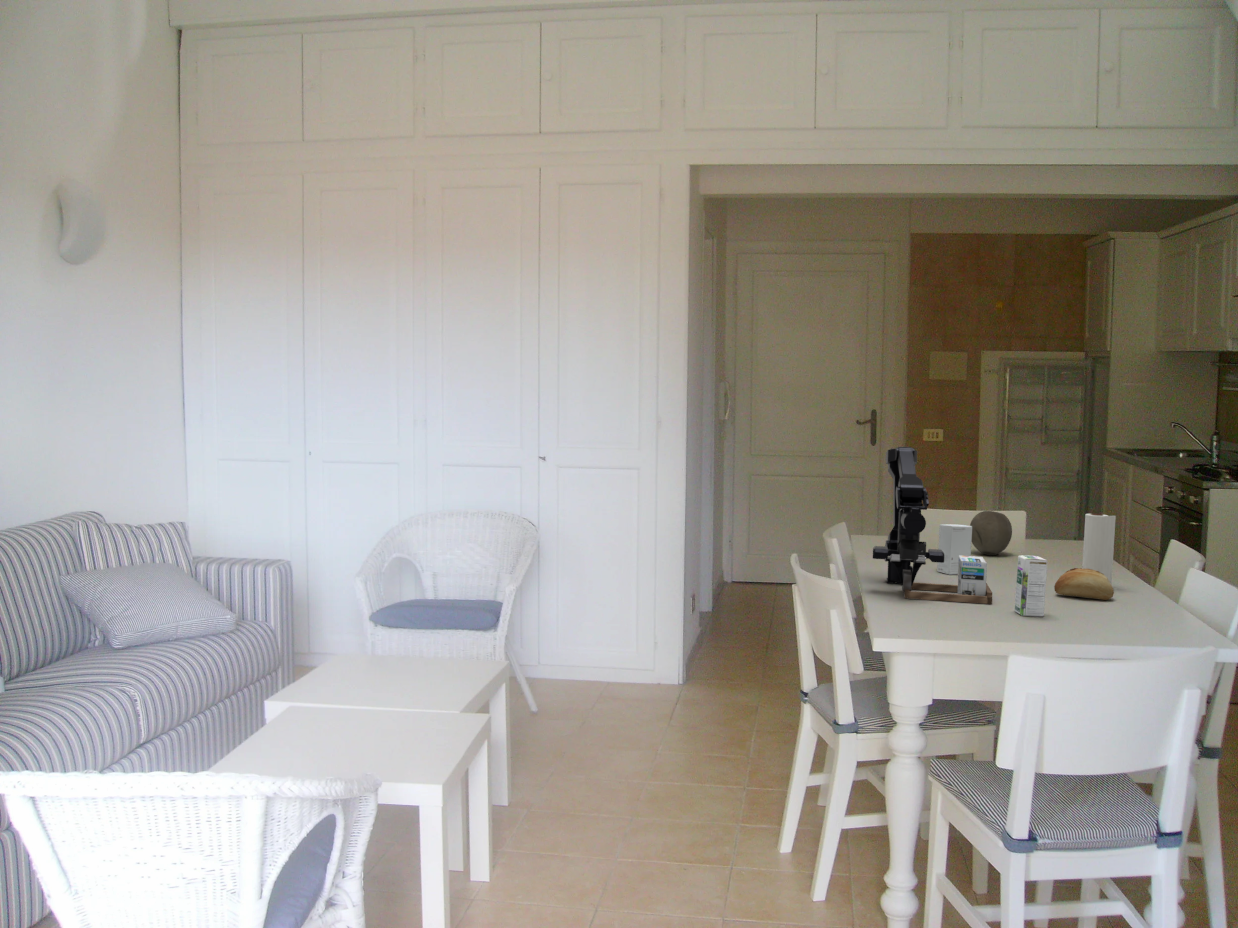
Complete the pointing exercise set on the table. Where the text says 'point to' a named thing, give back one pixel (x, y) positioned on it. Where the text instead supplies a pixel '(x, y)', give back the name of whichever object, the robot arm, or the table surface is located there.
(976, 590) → the light bulb box
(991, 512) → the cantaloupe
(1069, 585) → the bread roll
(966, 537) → the skincare box
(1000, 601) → the table surface
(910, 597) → the brown rectangular frame
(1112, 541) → the paper towel roll
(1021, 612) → the syrup box
